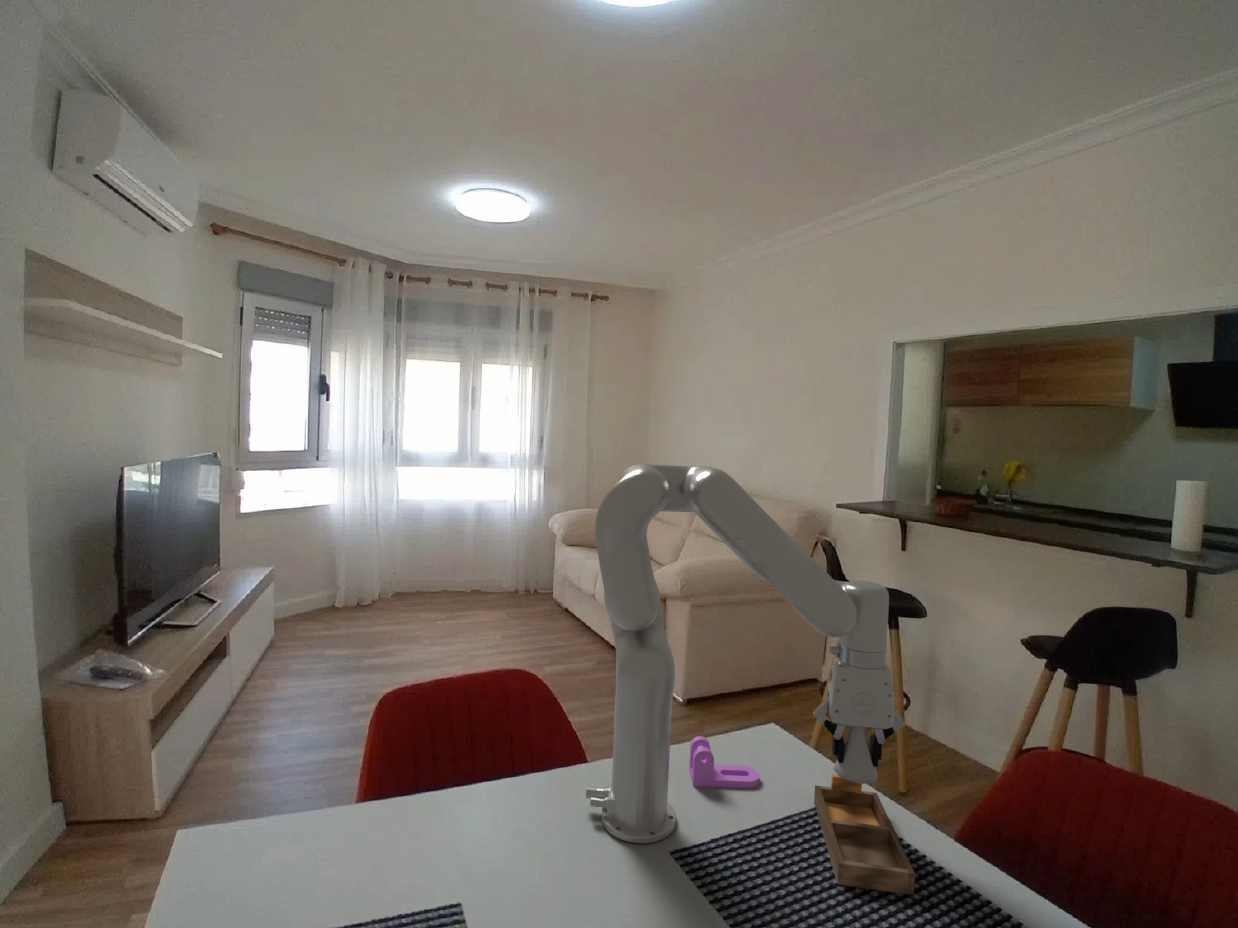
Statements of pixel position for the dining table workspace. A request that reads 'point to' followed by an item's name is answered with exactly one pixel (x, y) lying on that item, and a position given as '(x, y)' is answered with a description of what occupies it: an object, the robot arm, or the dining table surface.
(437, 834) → the dining table surface
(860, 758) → the flask
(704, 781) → the bracket
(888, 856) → the divided wooden tray
